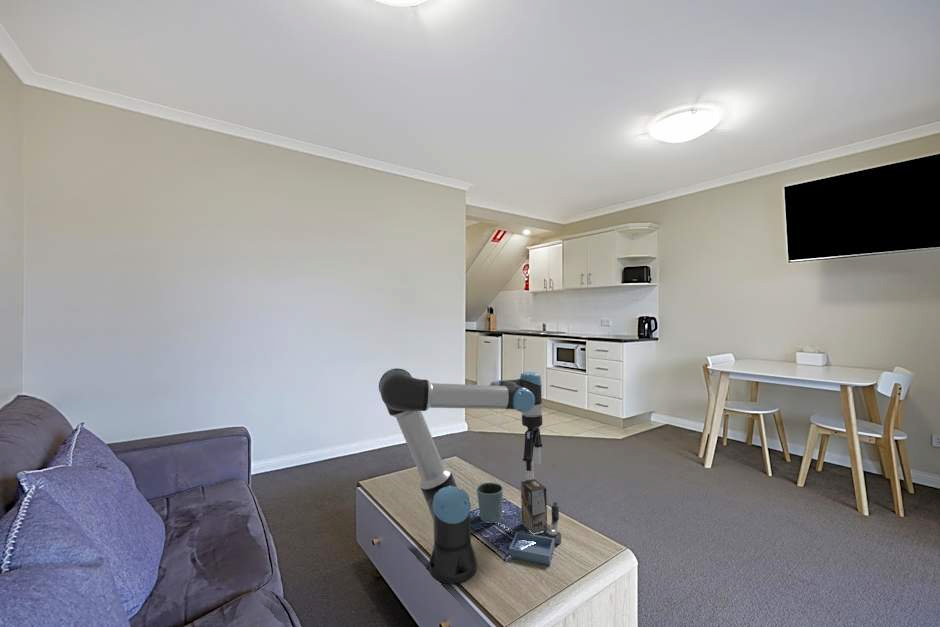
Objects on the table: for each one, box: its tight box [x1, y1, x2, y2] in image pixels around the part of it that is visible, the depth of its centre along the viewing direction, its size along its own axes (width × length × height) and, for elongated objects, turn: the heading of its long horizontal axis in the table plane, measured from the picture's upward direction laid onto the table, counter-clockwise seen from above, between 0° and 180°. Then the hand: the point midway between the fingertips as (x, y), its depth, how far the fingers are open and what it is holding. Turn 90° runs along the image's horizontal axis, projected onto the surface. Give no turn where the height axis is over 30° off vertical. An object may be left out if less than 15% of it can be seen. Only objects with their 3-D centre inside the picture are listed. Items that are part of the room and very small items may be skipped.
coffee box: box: [520, 478, 548, 533], centre depth 148 cm, size 9×6×16 cm
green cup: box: [476, 482, 504, 524], centre depth 155 cm, size 10×10×12 cm
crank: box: [546, 501, 560, 537], centre depth 143 cm, size 12×4×6 cm, turn 159°
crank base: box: [542, 530, 562, 546], centre depth 141 cm, size 6×15×2 cm, turn 69°
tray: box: [508, 531, 556, 566], centre depth 133 cm, size 10×13×3 cm
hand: (533, 471), depth 148 cm, fingers open, 13 cm apart
